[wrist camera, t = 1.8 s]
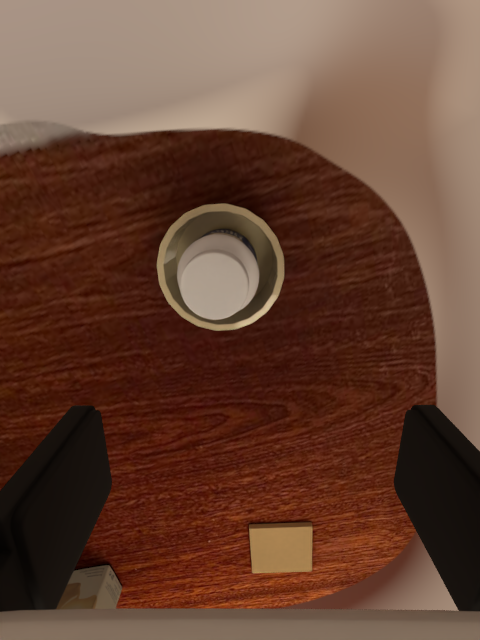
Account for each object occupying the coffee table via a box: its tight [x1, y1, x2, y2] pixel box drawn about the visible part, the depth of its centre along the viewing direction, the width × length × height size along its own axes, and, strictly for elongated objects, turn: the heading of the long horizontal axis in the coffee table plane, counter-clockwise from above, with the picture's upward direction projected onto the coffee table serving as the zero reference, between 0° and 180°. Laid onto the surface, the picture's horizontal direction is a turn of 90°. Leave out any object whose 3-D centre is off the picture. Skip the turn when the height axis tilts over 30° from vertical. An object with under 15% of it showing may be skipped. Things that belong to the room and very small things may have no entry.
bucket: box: [157, 203, 284, 331], centre depth 26 cm, size 9×9×5 cm
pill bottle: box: [177, 228, 259, 320], centre depth 24 cm, size 5×5×10 cm
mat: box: [249, 522, 312, 573], centre depth 39 cm, size 7×7×1 cm
